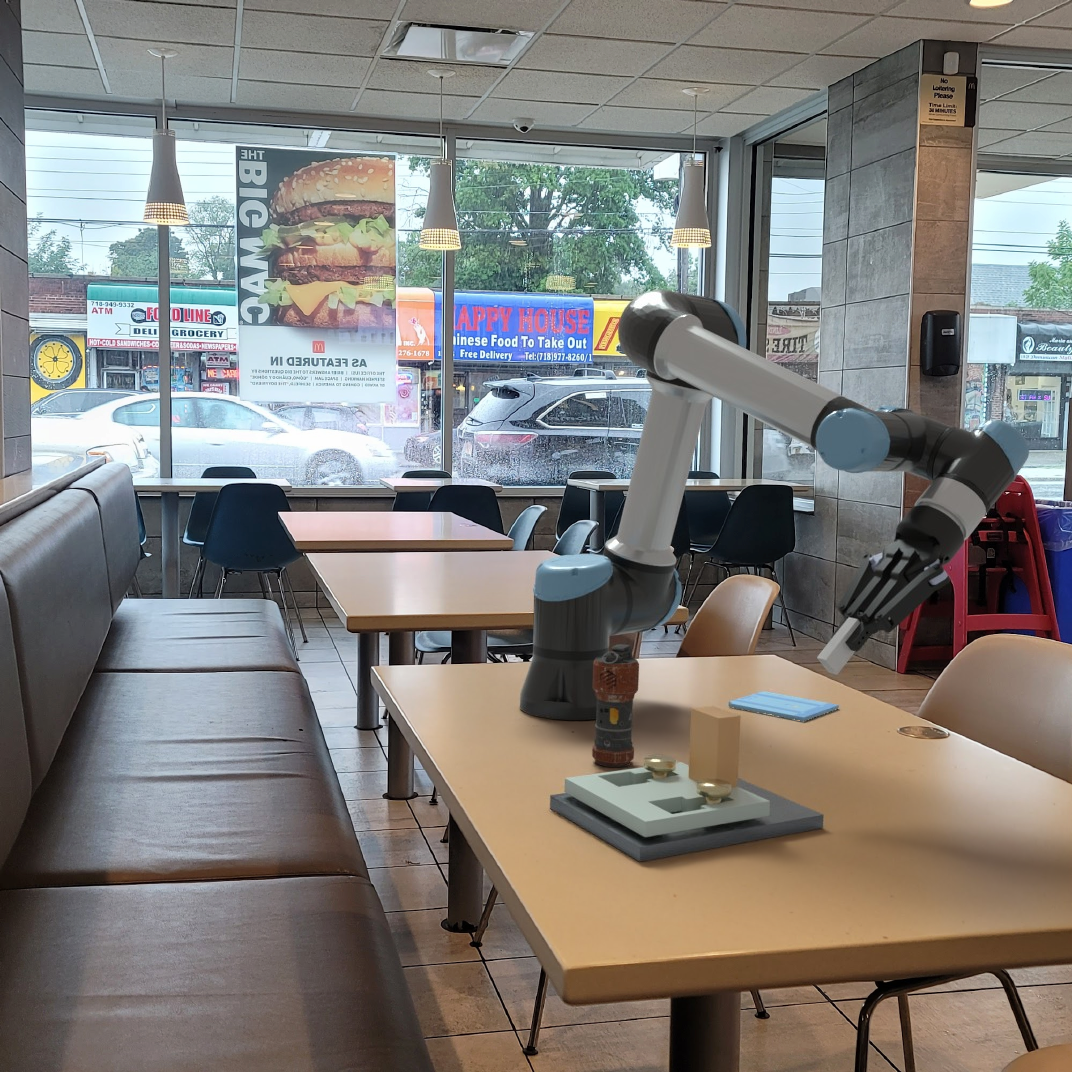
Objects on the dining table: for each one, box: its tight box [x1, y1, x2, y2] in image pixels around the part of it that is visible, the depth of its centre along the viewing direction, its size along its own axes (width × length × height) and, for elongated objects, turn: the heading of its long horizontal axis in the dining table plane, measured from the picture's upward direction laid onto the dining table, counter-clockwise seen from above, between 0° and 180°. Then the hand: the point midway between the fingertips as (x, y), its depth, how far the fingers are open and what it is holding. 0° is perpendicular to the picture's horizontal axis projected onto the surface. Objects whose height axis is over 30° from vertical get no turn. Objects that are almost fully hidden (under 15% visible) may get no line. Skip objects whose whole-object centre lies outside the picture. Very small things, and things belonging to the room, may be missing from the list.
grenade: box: [591, 643, 640, 768], centre depth 149 cm, size 6×8×15 cm
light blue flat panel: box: [728, 690, 840, 722], centre depth 182 cm, size 14×12×1 cm
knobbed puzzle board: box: [563, 705, 770, 837], centre depth 126 cm, size 16×16×10 cm
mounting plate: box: [549, 754, 824, 863], centre depth 127 cm, size 18×24×5 cm
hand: (826, 666), depth 135 cm, fingers closed
